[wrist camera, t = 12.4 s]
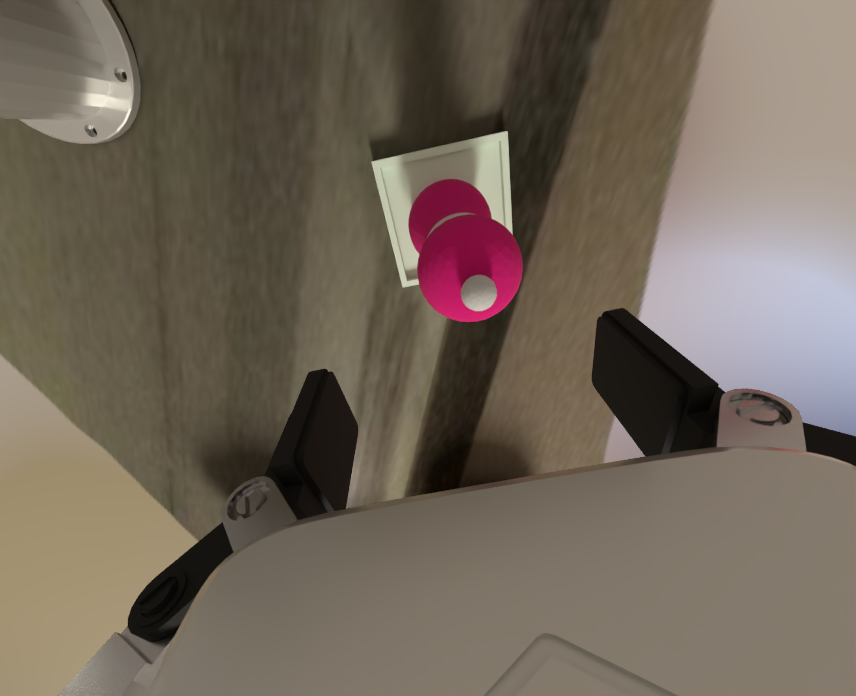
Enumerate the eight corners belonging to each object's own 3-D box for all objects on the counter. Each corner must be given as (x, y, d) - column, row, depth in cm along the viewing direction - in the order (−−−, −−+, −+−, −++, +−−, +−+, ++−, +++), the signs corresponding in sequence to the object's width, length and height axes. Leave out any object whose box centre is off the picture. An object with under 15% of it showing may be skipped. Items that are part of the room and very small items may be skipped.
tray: (373, 160, 30) (371, 161, 29) (503, 131, 29) (507, 130, 28) (403, 282, 36) (402, 287, 35) (510, 260, 36) (513, 265, 34)
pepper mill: (414, 166, 30) (418, 204, 13) (490, 182, 31) (585, 236, 14) (403, 245, 34) (396, 353, 17) (471, 257, 35) (528, 370, 18)
